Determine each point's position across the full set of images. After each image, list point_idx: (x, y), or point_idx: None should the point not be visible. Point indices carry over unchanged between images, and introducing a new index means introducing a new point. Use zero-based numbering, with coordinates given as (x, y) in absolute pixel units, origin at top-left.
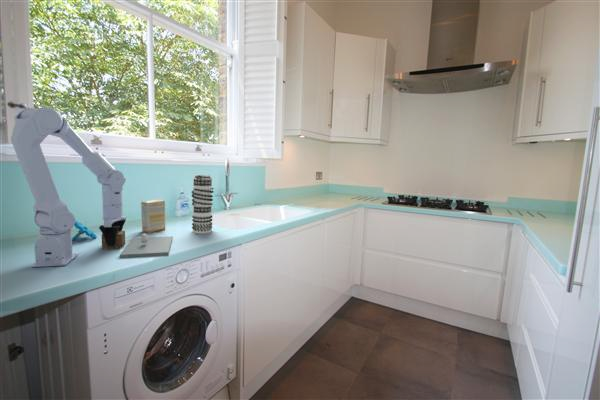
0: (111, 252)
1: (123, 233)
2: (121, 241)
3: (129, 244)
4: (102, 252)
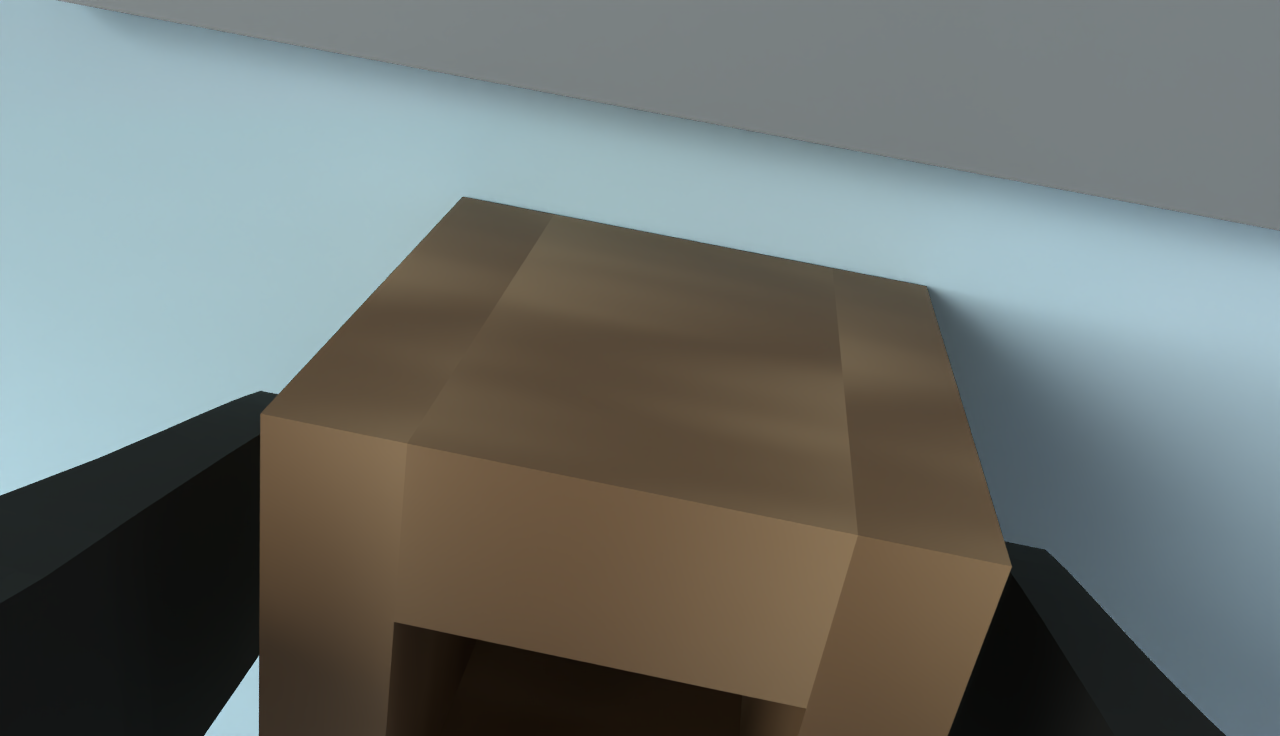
0: (1252, 539)
1: (626, 453)
2: (958, 402)
3: (933, 92)
4: None
